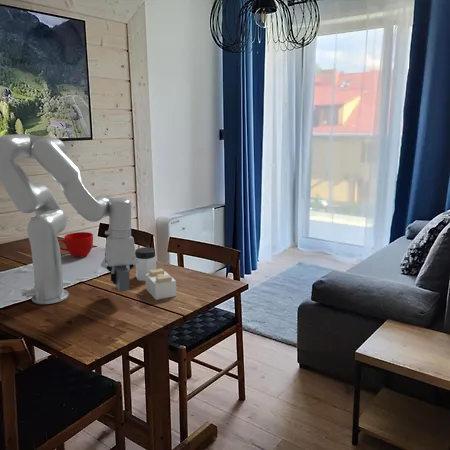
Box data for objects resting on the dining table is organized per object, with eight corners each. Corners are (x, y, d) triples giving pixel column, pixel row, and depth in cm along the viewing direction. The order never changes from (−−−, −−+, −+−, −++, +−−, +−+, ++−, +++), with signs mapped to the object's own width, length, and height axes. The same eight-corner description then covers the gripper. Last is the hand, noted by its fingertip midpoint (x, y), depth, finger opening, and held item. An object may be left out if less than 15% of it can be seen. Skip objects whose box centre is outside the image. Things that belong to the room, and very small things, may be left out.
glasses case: (119, 291, 156) (119, 272, 154) (110, 278, 167) (110, 260, 165) (129, 289, 157) (129, 271, 156) (119, 277, 169) (119, 259, 167)
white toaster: (155, 299, 163) (155, 280, 161) (145, 288, 173) (145, 270, 171) (176, 296, 166) (175, 276, 165) (165, 285, 177) (164, 267, 175)
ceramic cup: (56, 254, 216) (54, 234, 214) (91, 250, 223) (90, 231, 221) (58, 262, 205) (56, 241, 202) (96, 257, 212) (94, 237, 209)
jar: (135, 275, 188) (133, 247, 186) (154, 273, 191) (153, 246, 188) (137, 282, 180) (136, 253, 177) (157, 280, 182) (156, 252, 180)
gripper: (98, 237, 151) (98, 288, 155) (145, 234, 158) (144, 283, 163) (94, 232, 157) (94, 281, 161) (139, 229, 165) (138, 276, 169)
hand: (119, 281), depth 162 cm, fingers closed on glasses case, 3 cm apart
